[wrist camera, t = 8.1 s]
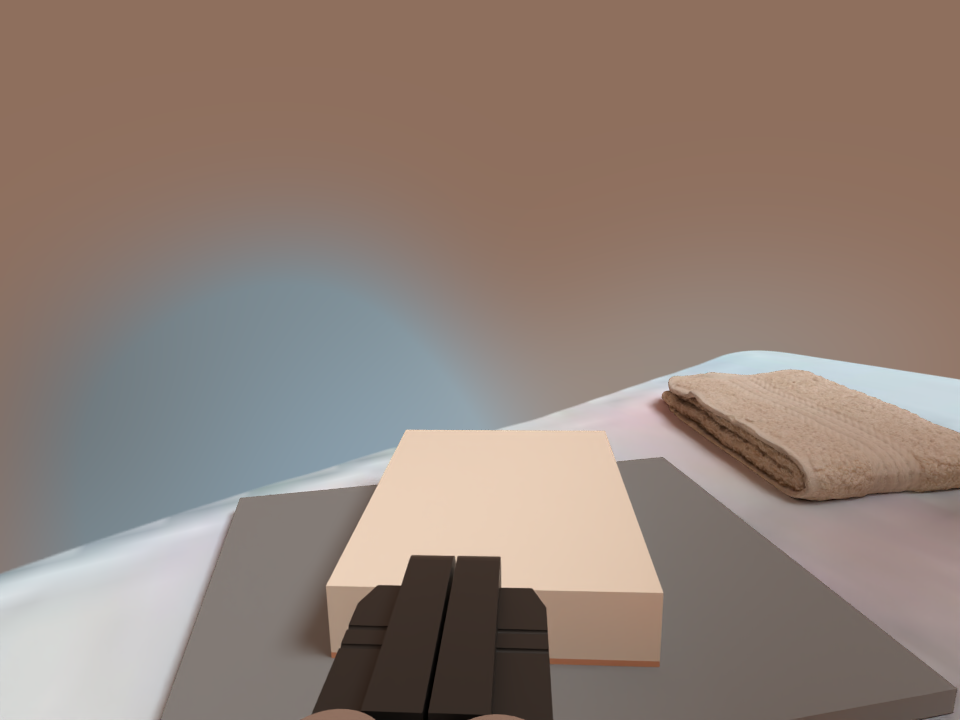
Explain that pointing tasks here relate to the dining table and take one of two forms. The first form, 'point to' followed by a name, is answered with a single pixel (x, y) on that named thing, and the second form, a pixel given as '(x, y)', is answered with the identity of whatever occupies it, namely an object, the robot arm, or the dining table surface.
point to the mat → (575, 688)
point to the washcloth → (816, 434)
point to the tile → (515, 535)
